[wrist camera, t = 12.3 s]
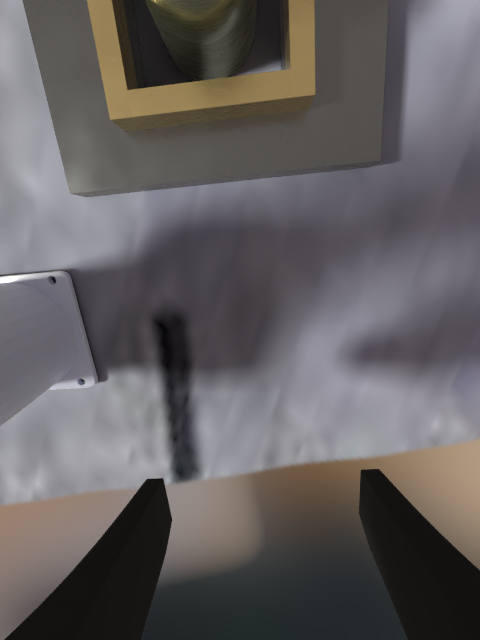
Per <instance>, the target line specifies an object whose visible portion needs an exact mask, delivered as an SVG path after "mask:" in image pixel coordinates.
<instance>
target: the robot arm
mask: <svg viewBox="0 0 480 640" xmlns="http://www.w3.org/2000/svg"><path fill="white" fill-rule="evenodd" d="M52 277H55V279H56V283H54V282H53V280H52ZM81 379H83V380H84V381H85V382H83V381H81ZM97 382H98V377H97V373H96V370H95V366H94V362H93V358H92V355H91V351H90V347H89V343H88V340H87V336H86V332H85V328H84V325H83V321H82V317H81V313H80V310H79V306H78V302H77V298H76V295H75V291H74V287H73V283H72V280H71V277H70V275H69V274H68V273H67V272H65V271H52V272H41V273H30V274H19V275H8V276H0V426H1V425H2V424H4V423H5V422H6V421H8V420H9V419H10V418H12V417H13V416H14V415H15V414H17V413H18V412H19V411H21V410H22V409H23V408H24V407H26V406H27V405H28V404H30V403H31V402H32V401H34V400H35V399H36V398H37V397H39V396H40V395H41V394H43V393H44V392H45V391H46V390H58V389H74V388H89V387H93V386H94V385H96V384H97ZM360 481H361V482H360V502H359V504H360V505H359V515H360V518H361V521H362V525H363V528H364V531H365V534H366V537H367V541H368V544H369V547H370V550H371V552H372V554H373V557H374V559H375V562H376V564H377V566H378V569H379V571H380V574H381V576H382V578H383V581H384V583H385V586H386V588H387V591H388V593H389V595H390V598H391V600H392V602H393V605H394V607H395V610H396V612H397V614H398V617H399V619H400V622H401V624H402V626H403V629H404V631H405V634H406V636H407V639H408V640H480V570H479V569H477V567H475V566H474V565H473V564H472V563H471V562H470V561H469V560H468V559H467V558H466V557H465V556H463V555H462V554H461V553H460V552H459V551H458V550H457V549H456V548H455V547H454V546H453V545H452V544H451V543H450V542H449V541H448V540H446V539H445V538H444V537H443V536H442V535H441V534H440V533H439V532H438V531H437V530H436V529H435V528H434V527H433V526H432V525H431V524H430V523H429V522H428V521H427V520H426V519H425V518H424V517H423V516H422V515H421V514H420V513H419V512H418V510H417V509H416V508H415V507H414V506H413V505H412V504H411V503H410V502H409V501H408V500H407V499H406V498H405V497H404V496H403V495H402V494H401V492H400V491H399V490H398V489H397V488H396V487H395V486H394V485H393V484H392V483H391V482H390V481H389V480H388V478H387V477H386V476H385V475H384V474H383V473H382V472H381V471H380V470H379V469H370V470H361V480H360ZM171 523H172V517H171V513H170V508H169V503H168V498H167V494H166V489H165V485H164V480H163V478H160V479H147V480H146V481H145V482H144V483H143V485H142V486H141V487H140V489H139V490H138V491H137V492H136V494H135V495H134V496H133V498H132V499H131V500H130V502H129V503H128V504H127V506H126V507H125V508H124V509H123V511H122V512H121V513H120V515H119V516H118V517H117V518H116V520H115V521H114V522H113V523H112V525H111V526H110V527H109V528H108V530H107V531H106V532H105V533H104V534H103V536H102V537H101V538H100V540H99V541H98V542H97V543H96V544H95V545H94V546H93V548H92V549H91V550H90V551H89V552H88V553H87V555H86V556H85V557H84V558H83V559H82V560H81V562H80V563H79V564H78V565H77V566H76V567H75V568H74V570H73V571H72V572H71V573H70V574H69V575H68V576H67V577H66V579H64V580H63V582H62V583H61V584H60V585H59V586H58V587H57V588H56V589H55V590H54V591H53V592H52V593H51V594H50V595H49V596H48V597H47V598H46V599H45V601H43V603H42V604H41V605H40V606H39V607H38V608H37V609H36V610H35V611H34V612H33V613H32V614H31V615H29V616H28V617H27V618H26V619H25V620H24V621H23V622H22V623H21V624H20V625H19V626H18V627H17V628H16V629H15V630H14V631H13V632H12V633H11V634H10V635H9V636H8V637H7V638H6V639H5V640H141V636H142V633H143V629H144V626H145V622H146V619H147V616H148V613H149V609H150V606H151V602H152V598H153V595H154V592H155V588H156V585H157V582H158V578H159V575H160V571H161V568H162V565H163V561H164V557H165V554H166V549H167V544H168V539H169V534H170V528H171Z"/></svg>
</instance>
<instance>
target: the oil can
mask: <svg viewBox="0 0 480 640" xmlns="http://www.w3.org/2000/svg"><path fill="white" fill-rule="evenodd" d="M145 1H146V4H147V6H148V8H149V10H150V13H151V15H152V17H153V19H154V21H155V24H156V26H157V28H158V30H159V32H160V35H161V37H162V39H163V41H164V43H165V46H166V48H167V50H168V52H169V54H170V56H171V58H172V60H173V61H174V63H175V64H176V65H177V67H178V68H179V69H180V70H181V71H182V72H184V73H185V74H186V75H187V76H189V77H191V78H193V79H195V80H197V81H203V80H210V79H218V78H226V77H230V76H232V75H233V74H234V73H236V72H237V71H238V70H239V69H240V68H241V66H242V65H243V64H244V62H245V61H246V59H247V57H248V56H249V53H250V51H251V48H252V45H253V42H254V37H255V29H256V0H145Z"/></svg>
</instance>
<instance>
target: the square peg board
mask: <svg viewBox="0 0 480 640" xmlns="http://www.w3.org/2000/svg"><path fill="white" fill-rule="evenodd" d="M23 4H24V8H25V12H26V16H27V20H28V24H29V28H30V32H31V36H32V40H33V44H34V48H35V53H36V57H37V61H38V65H39V69H40V73H41V77H42V81H43V85H44V89H45V93H46V97H47V101H48V105H49V109H50V113H51V117H52V122H53V126H54V130H55V134H56V138H57V142H58V146H59V150H60V154H61V158H62V162H63V166H64V170H65V174H66V178H67V182H68V186H69V191H70V194H74V195H79V196H83V197H92V196H101V195H110V194H120V193H129V192H139V191H148V190H157V189H167V188H176V187H186V186H195V185H204V184H214V183H223V182H233V181H242V180H251V179H261V178H270V177H280V176H289V175H298V174H308V173H317V172H327V171H336V170H345V169H355V168H364V167H370V166H371V165H373V164H375V163H377V162H379V161H380V160H381V148H382V128H383V108H384V88H385V68H386V48H387V29H388V9H389V0H279V17H280V43H281V69H282V70H280V71H272V72H265V73H257V74H249V75H241V76H234V77H226V78H218V79H210V80H203V81H195V82H187V83H179V84H172V85H164V86H156V87H148V88H146V83H145V77H144V71H143V64H142V58H141V52H140V45H139V39H138V32H137V26H136V20H135V13H134V7H133V1H132V0H23Z"/></svg>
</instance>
